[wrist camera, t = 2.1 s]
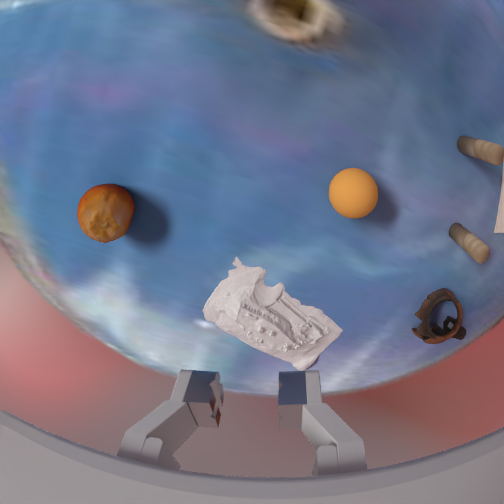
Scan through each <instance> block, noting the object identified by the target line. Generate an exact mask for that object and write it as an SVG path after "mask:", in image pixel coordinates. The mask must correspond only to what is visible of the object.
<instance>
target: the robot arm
mask: <svg viewBox="0 0 504 504" xmlns="http://www.w3.org/2000/svg"><path fill="white" fill-rule="evenodd" d="M223 398H224V391H223V386H222V384H221V383H220V375H219V372H209V371H196V370H181V371H180V372H179V375H178V377H177V380H176V383H175V386H174V389H173V392H172V395H171V398H170V400H166V401H165V402H163V403H162V404H161V405H160V406H158V407H157V408H156V409H154V410H153V411H152V412H151V413H149V414H148V415H147V416H146V417H144V418H143V419H141V420H140V421H139V422H138V423H136V424H135V425H134V426H132V427H131V428H130V429H128V430H127V431H126V433H125V436H124V438H123V441H122V443H121V446H120V448H119V451H118V454H117V456H115V455H111V454H108V453H105V452H102V451H99V450H96V449H93V448H89V447H87V446H84V445H81V444H78V443H76V442H73V441H70V440H67V439H65V438H62V437H60V436H58V435H55V434H53V433H51V432H48V431H46V430H43V429H41V428H39V427H37V426H35V425H33V424H31V423H29V422H27V421H25V420H22V419H21V418H19V417H17V416H15V415H13V414H11V413H9V412H7V411H4V410H1V411H0V504H504V427H503V428H501V429H499V430H497V431H495V432H493V433H490V434H488V435H485V436H483V437H481V438H478V439H476V440H473V441H471V442H468V443H466V444H463V445H460V446H457V447H454V448H452V449H449V450H446V451H442V452H439V453H436V454H433V455H430V456H426V457H422V458H419V459H415V460H411V461H407V462H403V463H399V464H394V465H390V466H385V467H380V468H375V469H368V470H367V464H366V457H365V451H364V444H363V440H362V439H361V438H360V437H359V436H358V435H357V434H356V433H355V432H354V431H353V430H352V429H351V428H350V427H349V426H348V425H347V424H346V423H345V422H344V421H343V420H342V419H341V418H340V417H339V416H338V415H337V414H336V413H335V412H334V411H333V410H332V409H331V408H330V407H329V406H328V405H327V404H326V403H322V395H321V385H320V376H319V371H318V370H308V371H305V370H304V371H286V372H279V394H278V407H279V408H278V410H279V429H301V430H302V432H303V433H304V434H305V436H306V437H307V439H308V440H309V441H310V443H311V444H312V445H313V447H314V448H315V449H316V451H317V453H316V458H315V462H314V466H313V470H312V476H307V477H270V478H269V477H239V476H226V475H215V474H206V473H198V472H191V471H184V470H180V467H181V466H180V465H179V463H178V462H177V461H176V460H175V458H174V457H173V455H172V454H173V453H174V452H175V451H176V450H177V449H178V448H179V447H180V446H181V445H182V444H183V443H184V442H185V441H186V440H187V439H188V438H189V437H190V435H192V434H193V432H194V431H195V430H196V429H197V428H198V427H211V428H218V427H219V422H220V417H221V413H220V411H219V409H220V408H221V407H222V406H223Z"/></svg>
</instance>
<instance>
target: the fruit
mask: <svg viewBox="0 0 504 504" xmlns="http://www.w3.org/2000/svg"><path fill="white" fill-rule="evenodd" d="M134 210H135V207H134V202H133V199H132V198H131V196H130V194H129V192H128V191H127V190H125V189H124V188H122V187H120V186H118V185H116V184H102V185H97V186H95V187H92V188H91V189H89V190H88V191H87V192H86V193H85V194H84V195H83V197H82V198H81V199H80V202H79V205H78V211H77V215H78V221H79V224H80V227H81V228H82V230H83V232H84V233H85V234H86V235H88V236H89V237H90V238H91V239H94V240H96V241H99V242H104V243H107V242H110V241H114V240H116V239H118V238H120V237H122V236H123V235H125V233H126V231H127V229H128V228H129V226H130V222H131V219H132V216H133V213H134Z"/></svg>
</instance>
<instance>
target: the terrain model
mask: <svg viewBox="0 0 504 504" xmlns="http://www.w3.org/2000/svg"><path fill="white" fill-rule="evenodd" d="M238 255H239V254H238ZM235 260H236V261H233V265H236V268H235V269H233V270H229V272H228V273H229V276H228V278H227V279H224V280H223V281H221V282H220V283H219V285H218V286H217V288H215V291H214V292H213V293H212V295H211V296H210V297H209V299H208V301H207V302H206V304H205V307H204V309H203V310H202V311H203V312H204V316H205V319H206V320H208V321H209V322H210V321H213V322H215V323H216V326H218V327H220V328H221V329H222V330H224V331H225V332H228V333H230V334H232V335H234V336H236V337H238V338H239V339H240V340H241V341H243V342H245V343H247V344H248V345H250V346H252V347H254V348H256V349H258V350H261V351H263V352H265V353H267V354H270V355H272V356H275V357H277V358H281V359H283V360H284V361H288V362H291V363H292V365H293V366H294V367H295V368H296V369H298V370H300V371H304V370H306V369H307V368H308V367H310V366H311V365H312V364H313V363H314V361H315V360H316V358H317V357H318V356H319V354H321V353H322V352H323V351H324V350H325V349H326V348H327V347H328V346H329V345H330V344H331V343H332V342H333V341H334V340H336V339H337V338H338V337H339V336H340V333H341V332H342V331H343V330H342V329H341V328H339V326H338V325H336V324H335V323H334V322H333V321H332V320H331V318H329V317H327V316H326V315H324V314H323V312H322V311H321V310H320V309H316V308H315V307H311V306H305V305H300V301H299V300H297V299H295V298H291V297H290V296H289V295H288V294H287V293H286V292H285V291H284V290H285V288H284V285H282V284H281V282H280V283H278V284H277V285H276V286H274V287H268V286H266V285H265V284H264V281H263V280H264V277H265V274H266V272H267V271H266V270H264V269H262V268H260V267H258V266H257V267H254V268H253V267H247V266H245V265H244V266H243V265H242V263H241V262H240V260H239V259H238V258H237V257H236V258H235ZM234 262H235V263H234ZM306 341H307V342H306Z"/></svg>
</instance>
